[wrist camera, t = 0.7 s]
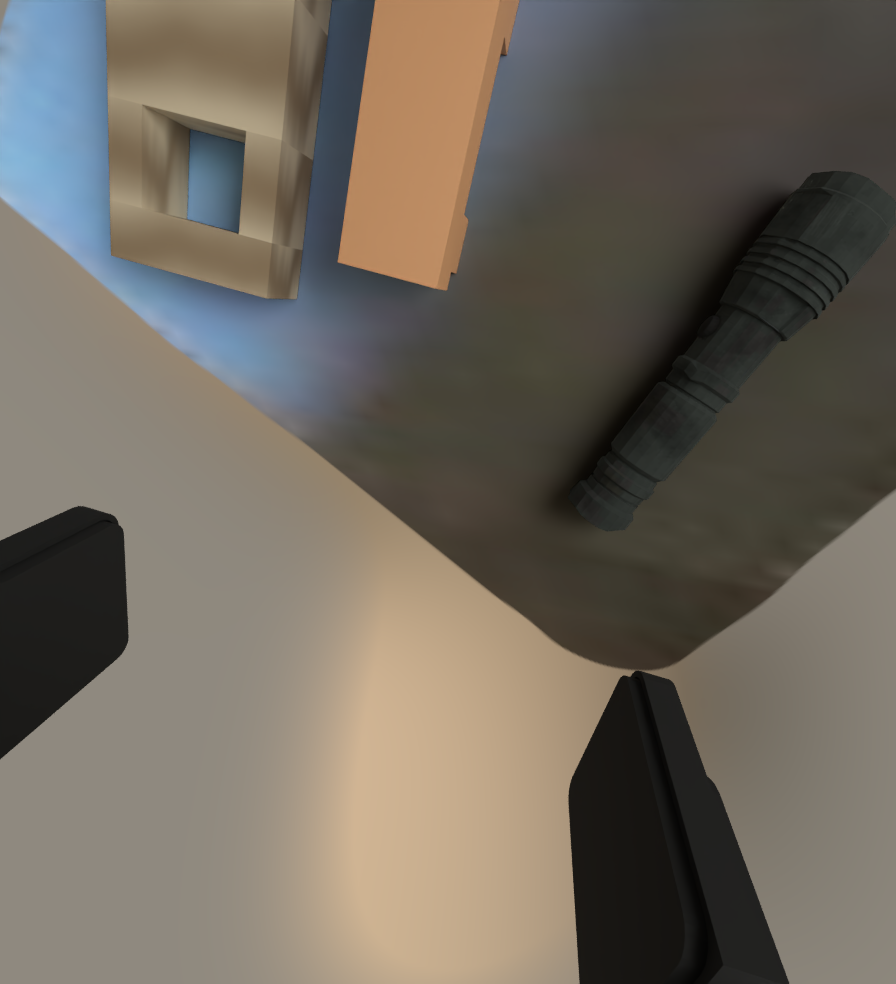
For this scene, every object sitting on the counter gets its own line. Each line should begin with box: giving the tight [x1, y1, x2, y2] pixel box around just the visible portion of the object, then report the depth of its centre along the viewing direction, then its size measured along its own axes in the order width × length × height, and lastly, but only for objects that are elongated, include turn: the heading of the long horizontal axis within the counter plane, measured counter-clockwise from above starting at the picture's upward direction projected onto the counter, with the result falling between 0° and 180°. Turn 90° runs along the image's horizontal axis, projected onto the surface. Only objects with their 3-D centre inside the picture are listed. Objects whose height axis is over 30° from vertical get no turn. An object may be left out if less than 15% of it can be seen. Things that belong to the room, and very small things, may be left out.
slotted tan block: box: [106, 0, 332, 299], centre depth 27 cm, size 22×10×4 cm, turn 166°
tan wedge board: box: [338, 0, 519, 290], centre depth 24 cm, size 16×5×8 cm, turn 166°
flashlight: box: [568, 171, 896, 531], centre depth 28 cm, size 5×21×5 cm, turn 149°
